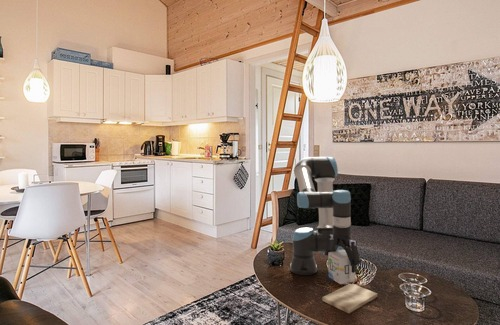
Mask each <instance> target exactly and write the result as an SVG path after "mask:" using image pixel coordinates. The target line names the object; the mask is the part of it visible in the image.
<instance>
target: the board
mask: <svg viewBox="0 0 500 325" xmlns="http://www.w3.org/2000/svg"><path fill="white" fill-rule="evenodd" d="M376 298H378V293H377V292H375V291H372V290H370V289H367V288H365V287H362V286H359V285H357V284H355V283H352V284H350V283H347V284H346V285H344V286H342V287H340V288H338V289H336V290H334V291H332V292H330V293H328V294H326V295H324V296H322V298H321V300H322V302H325V304H326V303H327V304H328V305H330V306H333V307H334V308H337V309H338V310H341V311H343V312H344V313H347V314H351V313H352V312H354V311H356V310H357V309H359V308H361V307H362V306H364V305H366V304H368V303H369V302H371V301H373V300H375V299H376Z"/></svg>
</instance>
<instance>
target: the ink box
mask: <svg viewBox="0 0 500 325" xmlns="http://www.w3.org/2000/svg"><path fill="white" fill-rule="evenodd" d="M327 257H328V258H327V259H328V262H327V263H328V278H330V279H331V280H332V281H335V282H336V283H338V284H339V285H344V284H349V283H352V282H356V276H355V279H353V280H349V265H350V264H351V263H350V261H349V258H348V256H347V253H346V251H345V250H344V249H340V250H338V251H334V252H328V256H327Z"/></svg>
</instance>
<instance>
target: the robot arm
mask: <svg viewBox="0 0 500 325" xmlns="http://www.w3.org/2000/svg"><path fill="white" fill-rule="evenodd" d="M293 169H294V170H293V174H294V176H295V178H296V180H297V184H298V190H299V192H297V195H296V204H297V207H298V208H300V209H318V226H316V230H314V228H313V227H300V228H296V229H295V230H294V231H292V258H291V261H290V265H289V271H290V272H292V273H294V274H295V275H299V276H311V275H314V274H316V273H317V271H318V266H317V264H316V259H315V256H314V255H315V254H314V253H324V256H327V257H328V252H334V251H338V250H341V248H342V249H343V250H345V251H346V253H347V256H348V258H349V261H350V263H351V264H350V265H349V280H353V279H355V277H356V273H357V266H358V265H360V264H361V259H360V255H359V249H358V247H357V246H358V242H357V240H356V239H355V240H352V239H351V234H352V233H351V232H352V231H351V230H352V229H351V225H352V222H351V214H352V212H351V210H352V209H351V206H352V205H351V200H352V198H351V192H350V191H349V190H346V189H336V190H334V186H333V182H334V181H335V180H336V177H337V176H338V174H339V172H338V171H339V169H338V164H337V161H336V159H335V157H332V156H307V157H304V158H302V159H300V160H299V161H298V162H296V164H295V166H294V168H293ZM313 178H314V181H315V183H317V191H316V189H315V185H314V182H313Z"/></svg>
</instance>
